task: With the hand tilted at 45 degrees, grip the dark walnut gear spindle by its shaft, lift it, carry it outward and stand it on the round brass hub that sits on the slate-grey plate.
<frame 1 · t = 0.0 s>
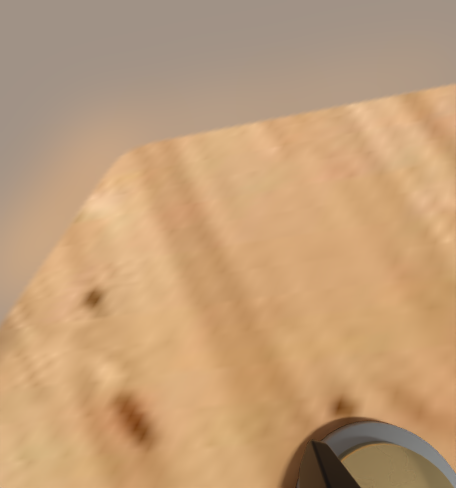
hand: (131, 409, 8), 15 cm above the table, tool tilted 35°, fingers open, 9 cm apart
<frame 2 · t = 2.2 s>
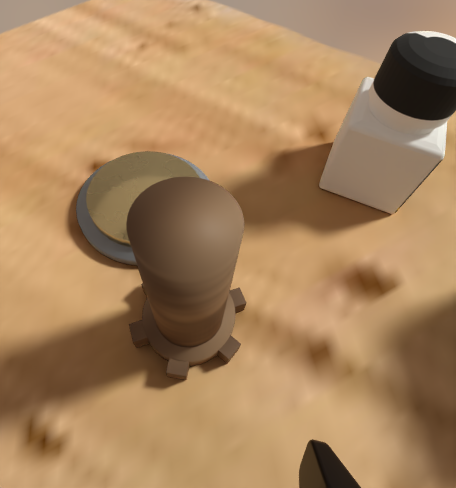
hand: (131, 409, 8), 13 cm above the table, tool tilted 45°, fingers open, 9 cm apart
medicine bottle: (360, 177, 31), on the table
gear spindle: (189, 320, 23), on the table
hub: (147, 196, 26), on the plate, point 1 cm above the table
plate: (149, 206, 27), on the table
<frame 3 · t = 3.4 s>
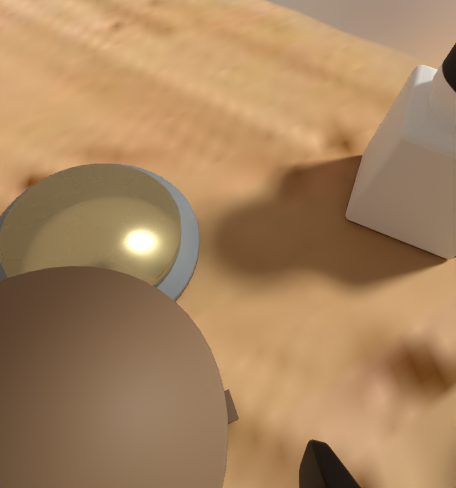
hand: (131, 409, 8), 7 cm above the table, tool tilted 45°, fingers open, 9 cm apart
medicine bottle: (400, 204, 23), on the table
gear spindle: (147, 440, 14), on the table
hub: (96, 231, 18), on the plate, point 1 cm above the table
plate: (101, 244, 19), on the table
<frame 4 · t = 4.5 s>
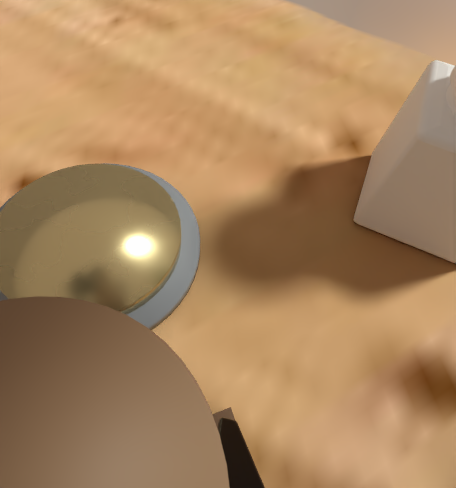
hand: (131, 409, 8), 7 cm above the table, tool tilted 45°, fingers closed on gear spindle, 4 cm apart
medicine bottle: (411, 207, 22), on the table
gear spindle: (143, 461, 13), on the table, touching gripper
hub: (91, 235, 17), on the plate, point 1 cm above the table
plate: (97, 248, 18), on the table
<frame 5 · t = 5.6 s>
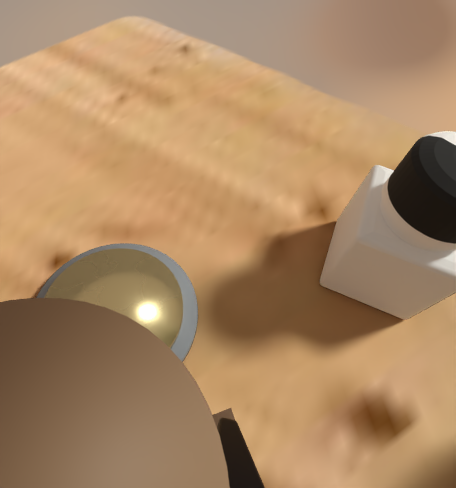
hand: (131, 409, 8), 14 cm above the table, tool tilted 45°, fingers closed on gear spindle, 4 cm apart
medicine bottle: (367, 267, 27), on the table
gear spindle: (143, 462, 13), point 7 cm above the table, touching gripper
hub: (114, 310, 22), on the plate, point 1 cm above the table
plate: (118, 317, 23), on the table
when the fingers open (9 cm above the table, at t = 7.2 s): gear spindle stays where it is, resting on hub.
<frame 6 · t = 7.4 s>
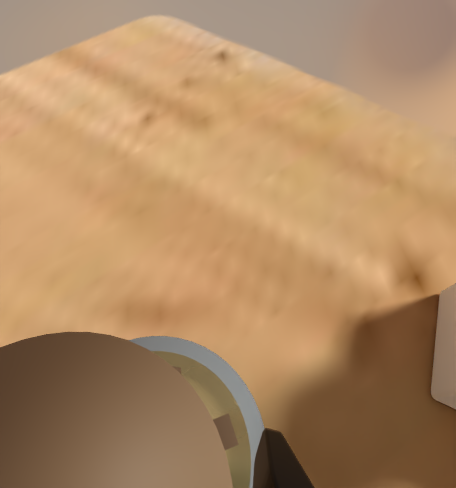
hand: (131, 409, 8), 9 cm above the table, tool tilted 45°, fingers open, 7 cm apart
gear spindle: (144, 464, 14), point 2 cm above the table, touching hub
hub: (147, 459, 14), on the plate, point 1 cm above the table
plate: (150, 457, 15), on the table
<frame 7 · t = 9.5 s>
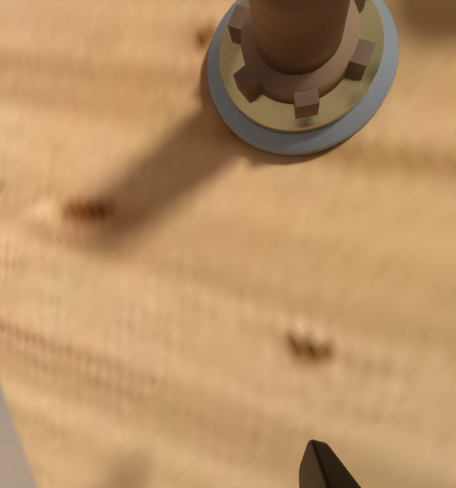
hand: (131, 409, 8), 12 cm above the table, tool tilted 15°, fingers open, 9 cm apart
gear spindle: (298, 51, 18), point 2 cm above the table, touching hub
hub: (297, 53, 19), on the plate, point 1 cm above the table
plate: (297, 66, 20), on the table
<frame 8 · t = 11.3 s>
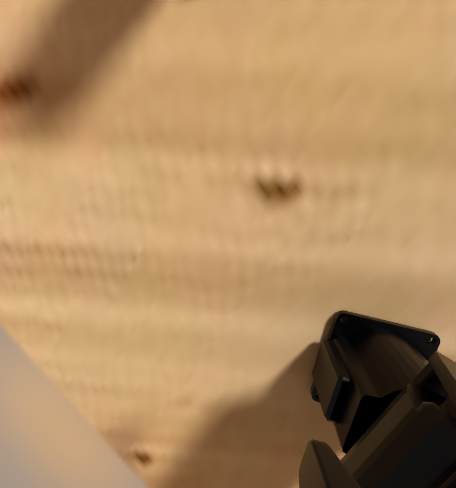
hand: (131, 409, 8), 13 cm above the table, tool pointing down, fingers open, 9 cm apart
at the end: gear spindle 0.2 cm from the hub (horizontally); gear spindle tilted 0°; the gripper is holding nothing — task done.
